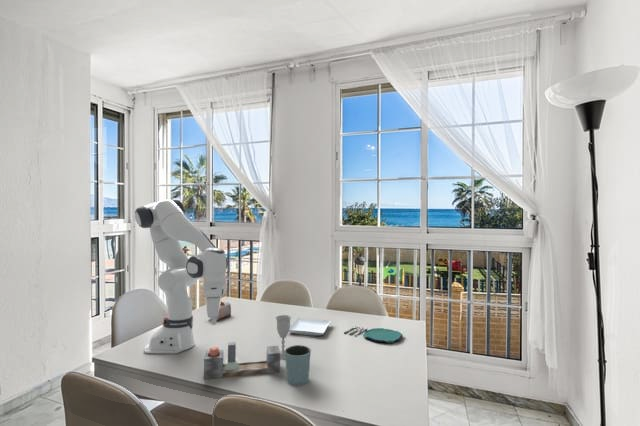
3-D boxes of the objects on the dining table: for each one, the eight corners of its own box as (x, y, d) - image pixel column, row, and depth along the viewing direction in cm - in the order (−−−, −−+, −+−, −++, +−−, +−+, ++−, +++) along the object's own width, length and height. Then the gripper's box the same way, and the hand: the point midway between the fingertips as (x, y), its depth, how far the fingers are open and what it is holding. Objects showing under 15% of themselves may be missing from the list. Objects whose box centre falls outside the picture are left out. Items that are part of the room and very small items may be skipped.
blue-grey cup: (310, 374, 141) (310, 345, 141) (310, 386, 131) (310, 355, 131) (285, 374, 141) (285, 345, 141) (283, 386, 131) (284, 355, 130)
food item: (216, 321, 206) (216, 305, 206) (206, 319, 209) (207, 303, 209) (232, 315, 218) (232, 300, 218) (222, 313, 222) (223, 298, 221)
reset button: (208, 361, 138) (209, 351, 138) (209, 357, 141) (209, 347, 141) (218, 360, 139) (218, 350, 139) (218, 356, 142) (219, 347, 142)
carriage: (225, 371, 139) (225, 346, 139) (225, 365, 144) (225, 341, 144) (237, 370, 140) (238, 345, 140) (237, 364, 145) (238, 340, 145)
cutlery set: (393, 347, 170) (393, 343, 170) (341, 335, 187) (341, 331, 187) (407, 336, 187) (407, 332, 187) (358, 326, 204) (358, 322, 204)
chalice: (283, 352, 162) (284, 314, 162) (293, 356, 158) (294, 317, 158) (271, 357, 157) (272, 317, 157) (282, 361, 152) (283, 320, 152)
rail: (203, 379, 135) (204, 358, 135) (205, 370, 143) (206, 350, 143) (280, 372, 142) (280, 353, 142) (277, 363, 150) (278, 345, 150)
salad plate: (285, 335, 186) (285, 328, 186) (297, 322, 207) (297, 317, 207) (323, 339, 181) (323, 332, 181) (332, 326, 202) (332, 320, 202)
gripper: (209, 283, 149) (208, 314, 150) (204, 294, 129) (203, 330, 130) (224, 282, 151) (223, 314, 151) (221, 293, 131) (221, 329, 131)
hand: (214, 322), depth 140 cm, fingers open, 4 cm apart
